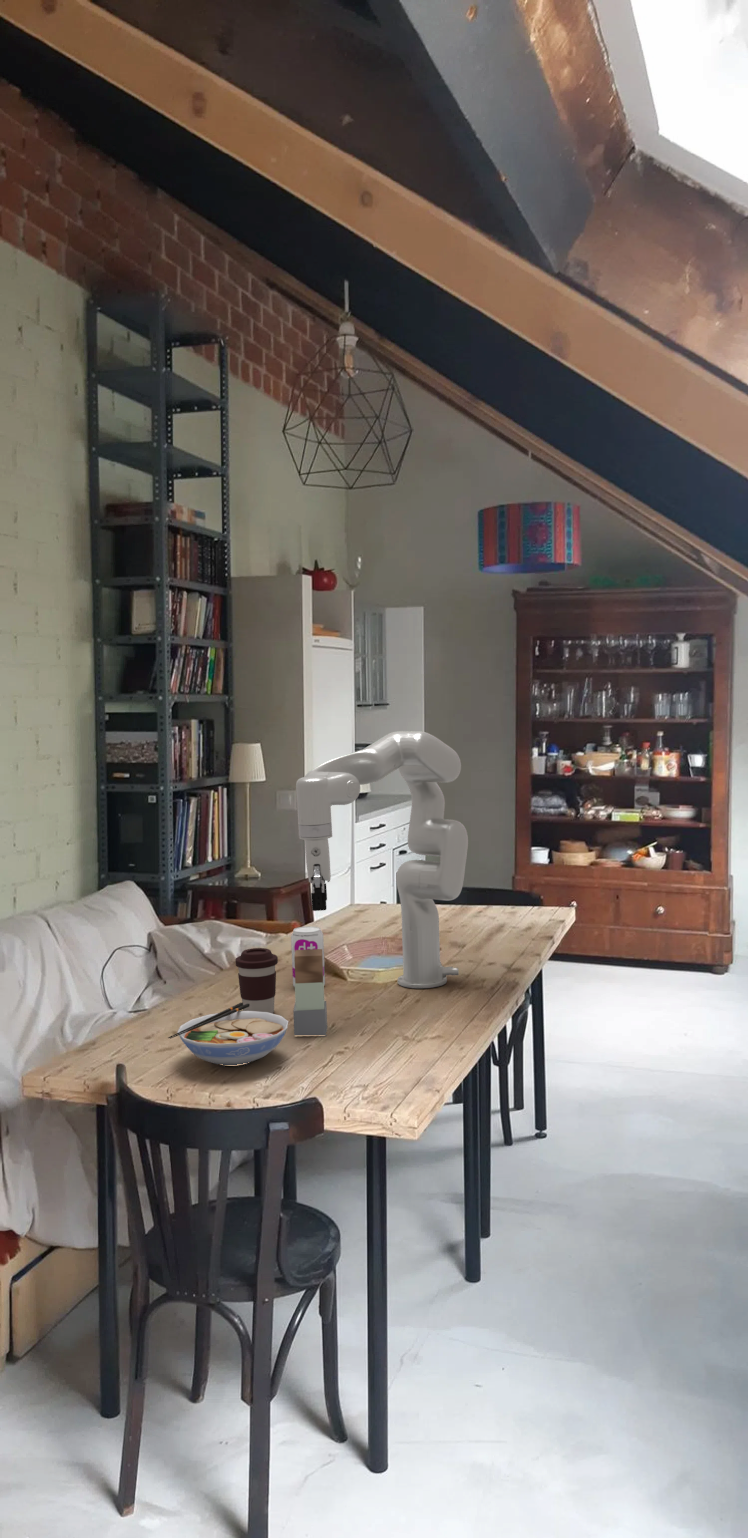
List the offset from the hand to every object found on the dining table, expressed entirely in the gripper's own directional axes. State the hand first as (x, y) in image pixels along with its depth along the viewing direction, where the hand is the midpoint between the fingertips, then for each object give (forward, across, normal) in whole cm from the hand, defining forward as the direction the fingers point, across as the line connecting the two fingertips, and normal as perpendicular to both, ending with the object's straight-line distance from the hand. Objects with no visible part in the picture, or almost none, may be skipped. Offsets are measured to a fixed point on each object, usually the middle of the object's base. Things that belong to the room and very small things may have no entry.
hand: (319, 905), depth 256 cm
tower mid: (+21, -8, +3) cm, 22 cm away
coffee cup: (+27, +8, +16) cm, 33 cm away
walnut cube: (+15, -8, +3) cm, 17 cm away
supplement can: (+28, +30, +5) cm, 41 cm away
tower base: (+27, -8, +3) cm, 28 cm away
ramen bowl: (+26, -26, +19) cm, 41 cm away
